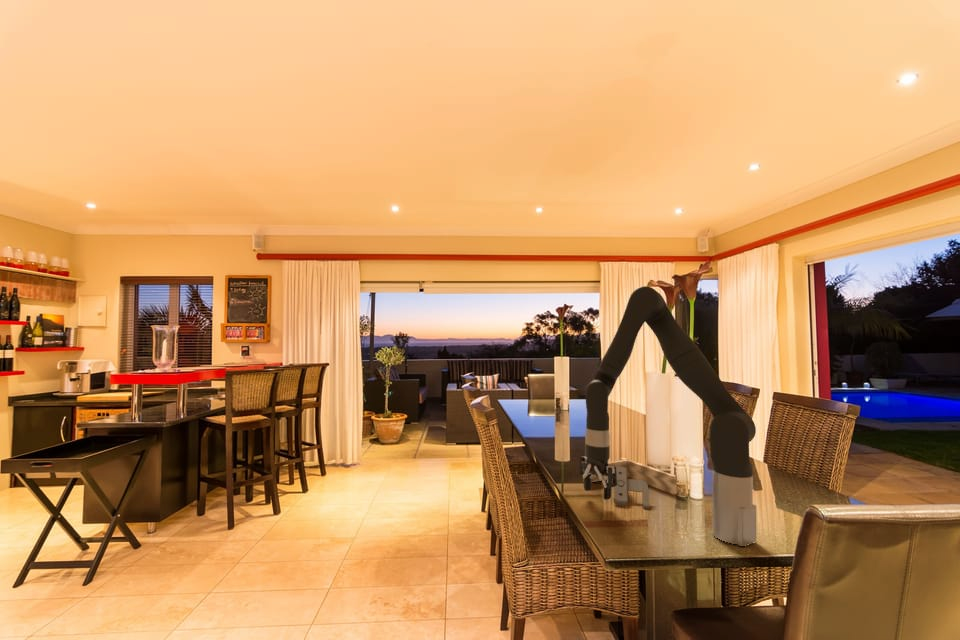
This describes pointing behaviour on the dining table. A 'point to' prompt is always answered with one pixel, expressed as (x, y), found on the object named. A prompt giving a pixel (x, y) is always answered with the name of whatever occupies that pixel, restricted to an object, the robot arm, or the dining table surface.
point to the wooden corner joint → (644, 475)
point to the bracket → (629, 488)
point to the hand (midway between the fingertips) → (596, 494)
